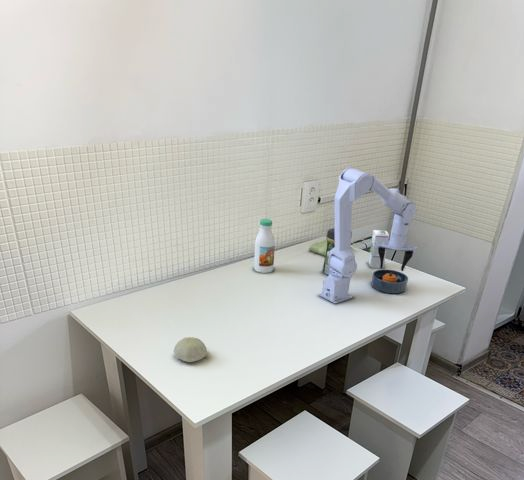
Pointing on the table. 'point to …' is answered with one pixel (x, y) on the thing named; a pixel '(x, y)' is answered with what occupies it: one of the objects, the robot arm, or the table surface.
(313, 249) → the washcloth
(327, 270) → the coffee jar
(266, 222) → the milk bottle
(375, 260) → the syrup box
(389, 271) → the bowl
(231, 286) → the table surface
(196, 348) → the sea urchin shell
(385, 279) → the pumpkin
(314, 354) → the table surface
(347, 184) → the robot arm
